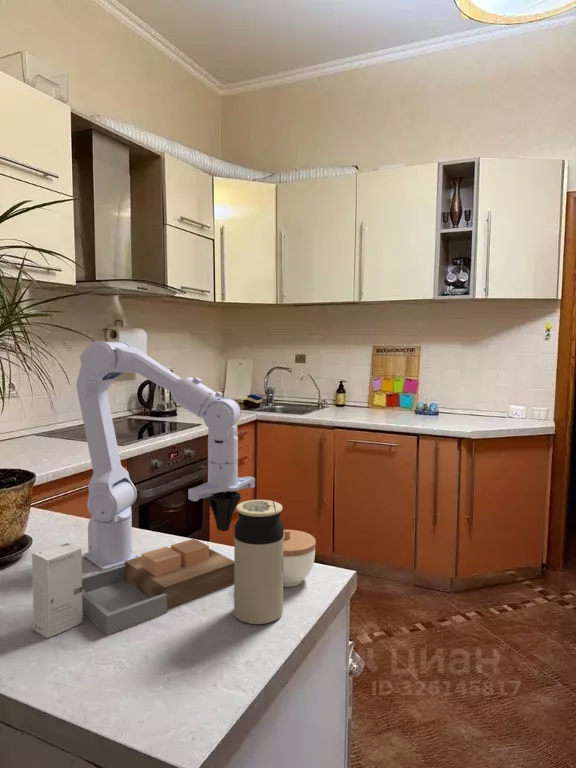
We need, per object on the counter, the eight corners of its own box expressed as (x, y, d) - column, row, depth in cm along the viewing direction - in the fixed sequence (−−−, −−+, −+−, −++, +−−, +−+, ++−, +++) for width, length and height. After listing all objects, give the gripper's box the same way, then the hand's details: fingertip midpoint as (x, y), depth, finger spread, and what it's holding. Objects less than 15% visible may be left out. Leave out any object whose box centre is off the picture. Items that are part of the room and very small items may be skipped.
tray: (67, 598, 92) (67, 581, 92) (123, 580, 99) (122, 564, 99) (107, 635, 81) (107, 616, 80) (167, 612, 88) (166, 594, 87)
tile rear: (171, 558, 100) (171, 545, 99) (193, 551, 103) (193, 538, 103) (185, 566, 96) (185, 553, 96) (208, 559, 99) (208, 546, 99)
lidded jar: (247, 584, 98) (247, 534, 97) (275, 563, 108) (276, 517, 107) (299, 598, 93) (300, 546, 92) (324, 574, 103) (325, 527, 102)
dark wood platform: (125, 582, 98) (124, 561, 98) (194, 559, 109) (194, 540, 108) (164, 610, 88) (164, 587, 88) (236, 583, 99) (236, 562, 98)
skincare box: (48, 639, 79) (45, 560, 78) (31, 630, 82) (29, 553, 81) (84, 622, 84) (83, 547, 83) (68, 613, 87) (66, 541, 86)
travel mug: (230, 625, 84) (231, 513, 83) (237, 600, 92) (238, 498, 91) (281, 627, 84) (282, 514, 82) (284, 602, 92) (285, 499, 90)
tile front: (141, 567, 96) (141, 553, 95) (166, 559, 99) (166, 546, 99) (155, 576, 92) (155, 562, 92) (181, 568, 95) (181, 554, 95)
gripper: (203, 470, 95) (203, 544, 96) (264, 458, 105) (264, 526, 106) (181, 463, 100) (182, 534, 102) (242, 453, 110) (242, 517, 112)
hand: (223, 529), depth 104 cm, fingers closed
